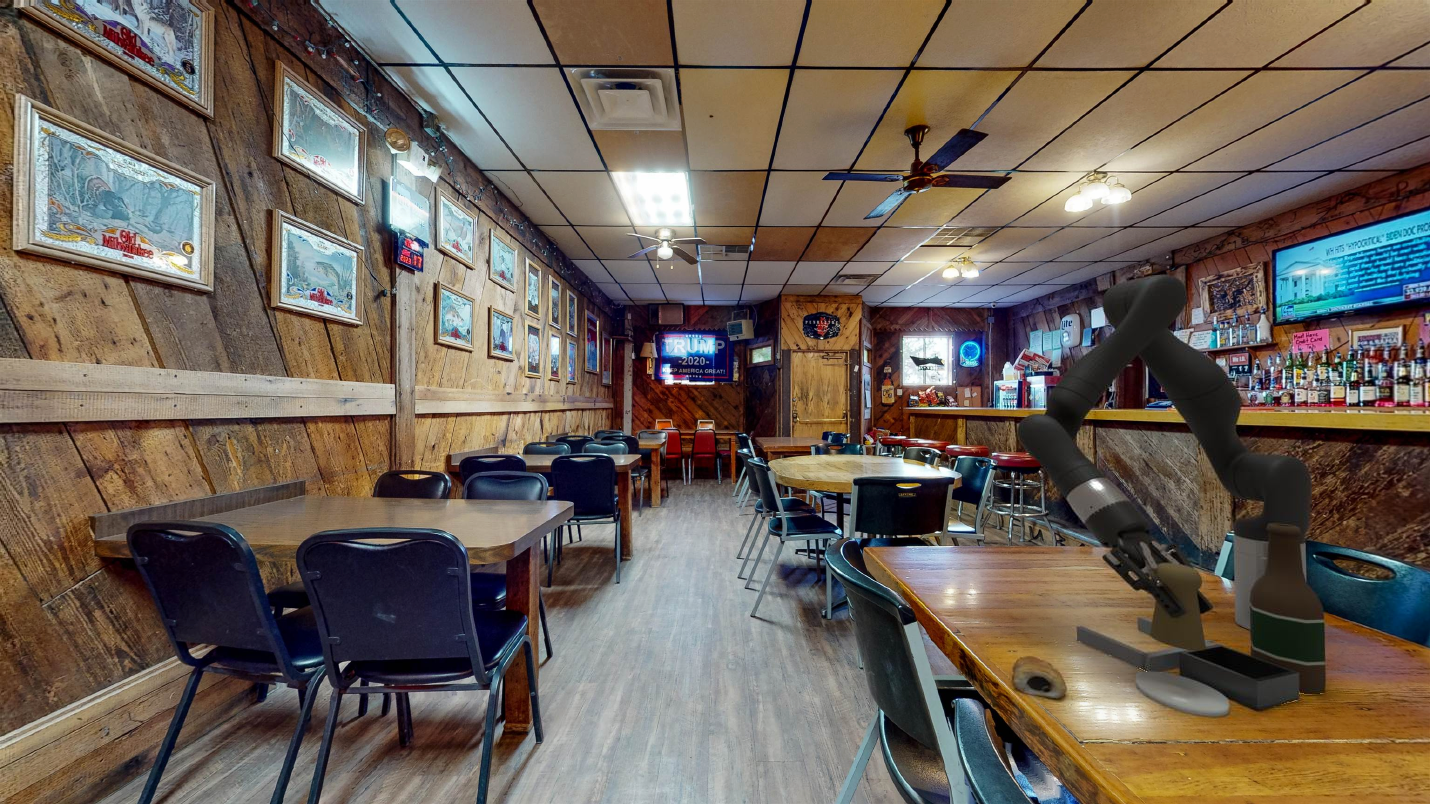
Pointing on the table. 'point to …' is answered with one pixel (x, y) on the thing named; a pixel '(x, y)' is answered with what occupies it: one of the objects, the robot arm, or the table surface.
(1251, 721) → the table surface
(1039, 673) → the pastry
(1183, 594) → the cork
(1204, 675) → the open storage bin
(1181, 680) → the saucer
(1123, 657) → the grey u-shaped frame
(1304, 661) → the beer bottle
